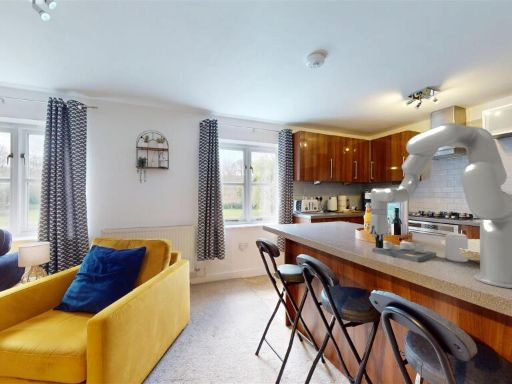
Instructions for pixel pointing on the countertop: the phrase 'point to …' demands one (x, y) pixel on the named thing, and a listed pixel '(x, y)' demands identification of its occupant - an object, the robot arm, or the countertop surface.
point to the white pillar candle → (455, 246)
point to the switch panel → (405, 253)
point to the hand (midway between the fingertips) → (379, 247)
